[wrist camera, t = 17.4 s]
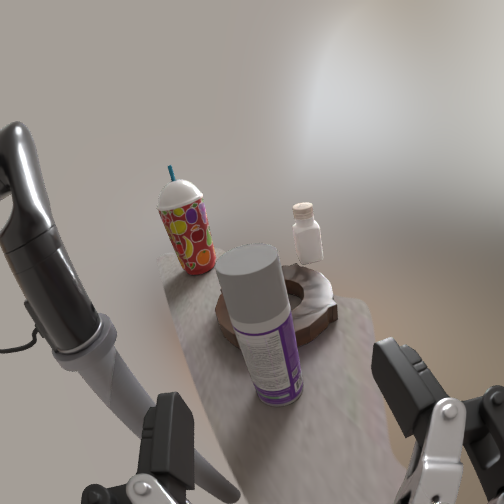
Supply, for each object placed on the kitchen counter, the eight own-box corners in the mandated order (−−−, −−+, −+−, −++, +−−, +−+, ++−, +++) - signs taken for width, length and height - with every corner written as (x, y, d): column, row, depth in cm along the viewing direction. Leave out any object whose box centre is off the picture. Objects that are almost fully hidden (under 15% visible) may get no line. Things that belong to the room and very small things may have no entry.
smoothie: (187, 260, 58) (157, 167, 50) (225, 254, 57) (198, 156, 48) (174, 281, 51) (138, 177, 42) (217, 276, 49) (184, 163, 41)
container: (281, 364, 29) (251, 237, 22) (313, 385, 25) (294, 250, 19) (248, 389, 27) (201, 264, 20) (278, 415, 23) (238, 284, 17)
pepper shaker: (324, 261, 46) (317, 206, 42) (301, 266, 46) (292, 212, 42) (318, 251, 50) (311, 200, 45) (296, 256, 50) (287, 204, 46)
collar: (235, 370, 29) (229, 355, 28) (212, 300, 43) (208, 287, 42) (355, 321, 32) (355, 305, 31) (303, 269, 45) (301, 255, 44)
